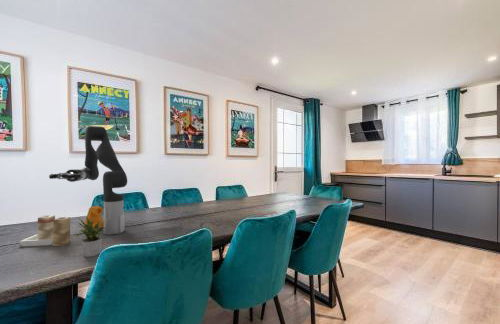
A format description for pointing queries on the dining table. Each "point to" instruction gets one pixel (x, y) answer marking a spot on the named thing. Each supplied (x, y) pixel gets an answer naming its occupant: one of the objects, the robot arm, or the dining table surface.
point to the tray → (35, 241)
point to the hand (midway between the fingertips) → (59, 176)
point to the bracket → (97, 213)
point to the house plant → (91, 238)
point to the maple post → (45, 227)
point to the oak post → (61, 231)
